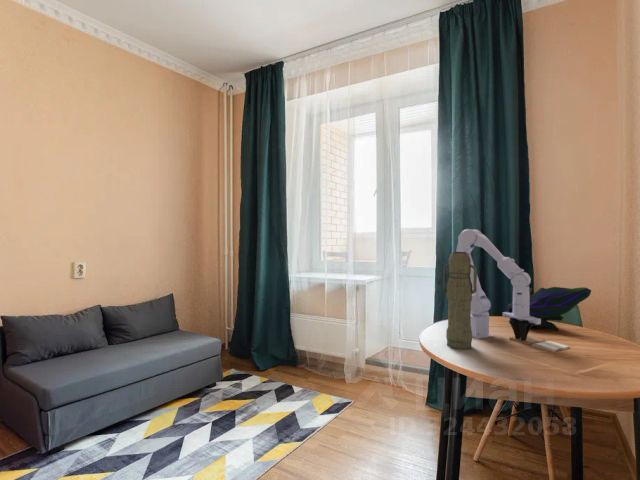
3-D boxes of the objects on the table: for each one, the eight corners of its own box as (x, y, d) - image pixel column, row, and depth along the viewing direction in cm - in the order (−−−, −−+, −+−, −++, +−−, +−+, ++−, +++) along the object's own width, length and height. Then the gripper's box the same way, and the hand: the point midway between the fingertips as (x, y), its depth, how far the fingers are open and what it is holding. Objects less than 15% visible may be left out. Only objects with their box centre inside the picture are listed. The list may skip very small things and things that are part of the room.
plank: (528, 346, 138) (529, 343, 138) (509, 340, 145) (509, 337, 145) (545, 343, 143) (545, 340, 143) (525, 337, 150) (526, 334, 150)
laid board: (552, 353, 130) (552, 349, 130) (531, 347, 137) (531, 343, 137) (569, 349, 135) (569, 346, 135) (547, 343, 142) (547, 340, 142)
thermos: (476, 351, 132) (477, 252, 132) (441, 347, 136) (442, 252, 136) (476, 344, 140) (477, 251, 140) (443, 341, 145) (444, 251, 144)
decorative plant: (512, 343, 175) (573, 326, 175) (537, 335, 151) (608, 315, 151) (493, 301, 183) (552, 285, 183) (514, 287, 159) (581, 269, 160)
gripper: (546, 306, 138) (545, 342, 138) (510, 300, 151) (510, 333, 151) (534, 307, 135) (533, 345, 135) (499, 301, 148) (498, 335, 148)
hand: (520, 339), depth 143 cm, fingers closed
